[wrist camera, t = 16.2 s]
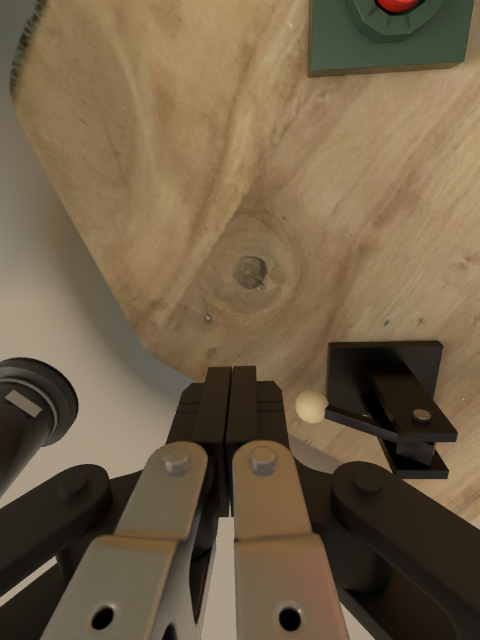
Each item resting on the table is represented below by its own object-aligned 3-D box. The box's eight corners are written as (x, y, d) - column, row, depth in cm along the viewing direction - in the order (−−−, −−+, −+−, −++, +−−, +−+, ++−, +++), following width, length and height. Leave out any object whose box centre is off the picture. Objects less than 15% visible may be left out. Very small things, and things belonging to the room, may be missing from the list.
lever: (304, 406, 40) (289, 423, 38) (304, 380, 39) (289, 395, 37) (434, 451, 33) (427, 475, 31) (441, 421, 32) (434, 443, 29)
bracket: (324, 409, 44) (349, 496, 32) (328, 342, 41) (356, 412, 29) (426, 408, 44) (488, 497, 32) (438, 340, 40) (513, 411, 28)
